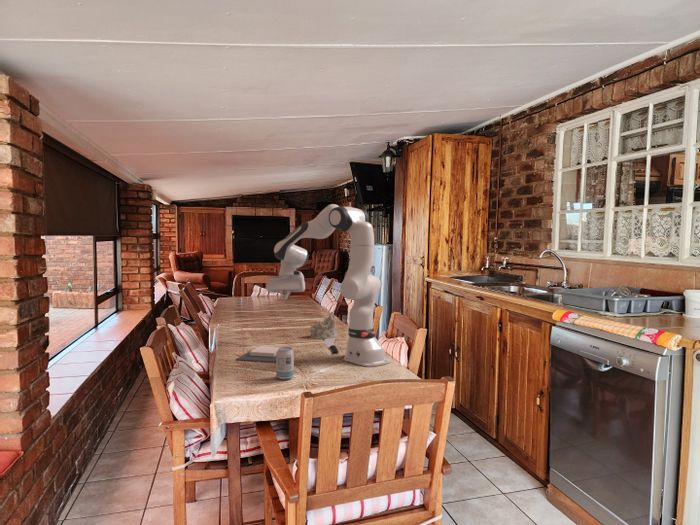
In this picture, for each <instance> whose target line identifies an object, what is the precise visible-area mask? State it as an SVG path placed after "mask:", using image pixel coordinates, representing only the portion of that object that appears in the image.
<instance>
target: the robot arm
mask: <svg viewBox="0 0 700 525" xmlns="http://www.w3.org/2000/svg"><path fill="white" fill-rule="evenodd" d="M369 219H370V218H369V214H368V212H367V211H365V210H364V209H362V208H360V207H359V208H356V207H352V206H339V205H338V204H334V203H331V204H328V205H327V206H326V207H325V208H323V209H322V210H321V211H320V212H319V213H318V214H317V216H316V217H315V218H314V219H311V220H310V221H305V222H303V223H301V224H300V225H298V226H297V227H296V228H295V229H294V230H292V232H290V233H289V234H288V235H287V236H285V237H284V238H283V239H280V240H279V241H278V242H277V243H276V244H275V246H274V248H273V253H274V256H275V258H276V260H277V259H278V260H280V268H279V273H278V275H271V276H269V277H268V278H267V283H266V288H265V289H266V292H268V293H269V294H273V293H274V294H275V293H277V294H278V293H280V296H281V297H280V299H281V300H283V301H284V300H286V301H287V300H288V297H289V296H290V295H291V293H303V292H305V290H306V282H305V276H304V274H303V273H302V271H299V270H297V269H299V268H301V267H303V266H305V265H307V264H308V260H309V252H308V250H307V249H305V248H303V247H301V246H298V245H295V243H297V242H298V241H299V240H301V239H304V238H306V239H307V238H308V239H316V240H323V239H326V238H328V237H329V236H331V235H332V233H333V232H334V231H335V230H339V231H342V232H343V233H346V232H348V233H349V235H350V251H349V252H350V253H349V264H348V269H347V272H346V274H345V277H344V279H343V281H342V282H341V284H340V288H339V289H340V293H341V295H342V296H343V298H345V299H347V300H351V301H353V303H352V306H351V308H350V310H349V317H348V319H349V320H348V321H349V323H348V324H349V326H348V330H347V334H348V340H347V341H346V346H345V347H346V348H345V356H344V357H343V361H345V362H348V361H349V363H352V364H356V365H358V366H359V365H360V366H362V367H369V368H370V367H372V368H373V367H378V366H384V365H388V364H390V363H391V359H389V358H387V357H386V355H385V354H386V353H385V349H384V346H383V345H381V343H380V342H379V339H377V338H376V335H377V331H375V329H374V310H375V304H376V300H377V296H378V294H379V292H380V291H381V288H382V283H381V280H380V279H379V277H378V276H377V275H374V274H370V270H371V267H373V264H374V262H375V235H374V228H373V225H372V223H371V222H369ZM284 293H286V294H284Z"/></svg>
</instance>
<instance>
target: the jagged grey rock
mask: <svg viewBox="0 0 700 525" xmlns="http://www.w3.org/2000/svg"><path fill="white" fill-rule="evenodd" d="M309 330H310V331H309V332H310V333H311V334H310V335H309V336H310V339H311V338H314V339H315V340H322V339H329V338H335V337H337V336H338V333H339V332H338V330H337V326H336V318H335V314H334V311H331V312H330V314H329V316H327V317H323V321H320V320H319V321H315V324H314V323H313V324H311V325H310V329H309ZM337 338H338V337H337ZM335 339H336V338H335Z"/></svg>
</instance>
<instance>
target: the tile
mask: <svg viewBox="0 0 700 525" xmlns="http://www.w3.org/2000/svg"><path fill="white" fill-rule="evenodd" d="M278 348H281V346H262V345H261V346H257V347H256V348H254V349H252V351H250V350H249V351H250V355H251V356H259V357H275V356H276V353H277V351H278Z"/></svg>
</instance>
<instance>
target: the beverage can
mask: <svg viewBox="0 0 700 525" xmlns="http://www.w3.org/2000/svg"><path fill="white" fill-rule="evenodd" d="M280 347H281V346H280ZM294 358H295V356H294V350H293V348H292V347H289V346H285V347H284V346H283V347H281V348H278V351H277V353H276V363H275V366H276V368H275V369H276V371H275V372H276V378H277V379H279V380H281V381H288V380H289V381H290V380H291V379H292V378H293V377H294V376H295V372H294V371H295V366H294V365H295V364H294V363H295V362H294V361H295V359H294Z"/></svg>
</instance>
